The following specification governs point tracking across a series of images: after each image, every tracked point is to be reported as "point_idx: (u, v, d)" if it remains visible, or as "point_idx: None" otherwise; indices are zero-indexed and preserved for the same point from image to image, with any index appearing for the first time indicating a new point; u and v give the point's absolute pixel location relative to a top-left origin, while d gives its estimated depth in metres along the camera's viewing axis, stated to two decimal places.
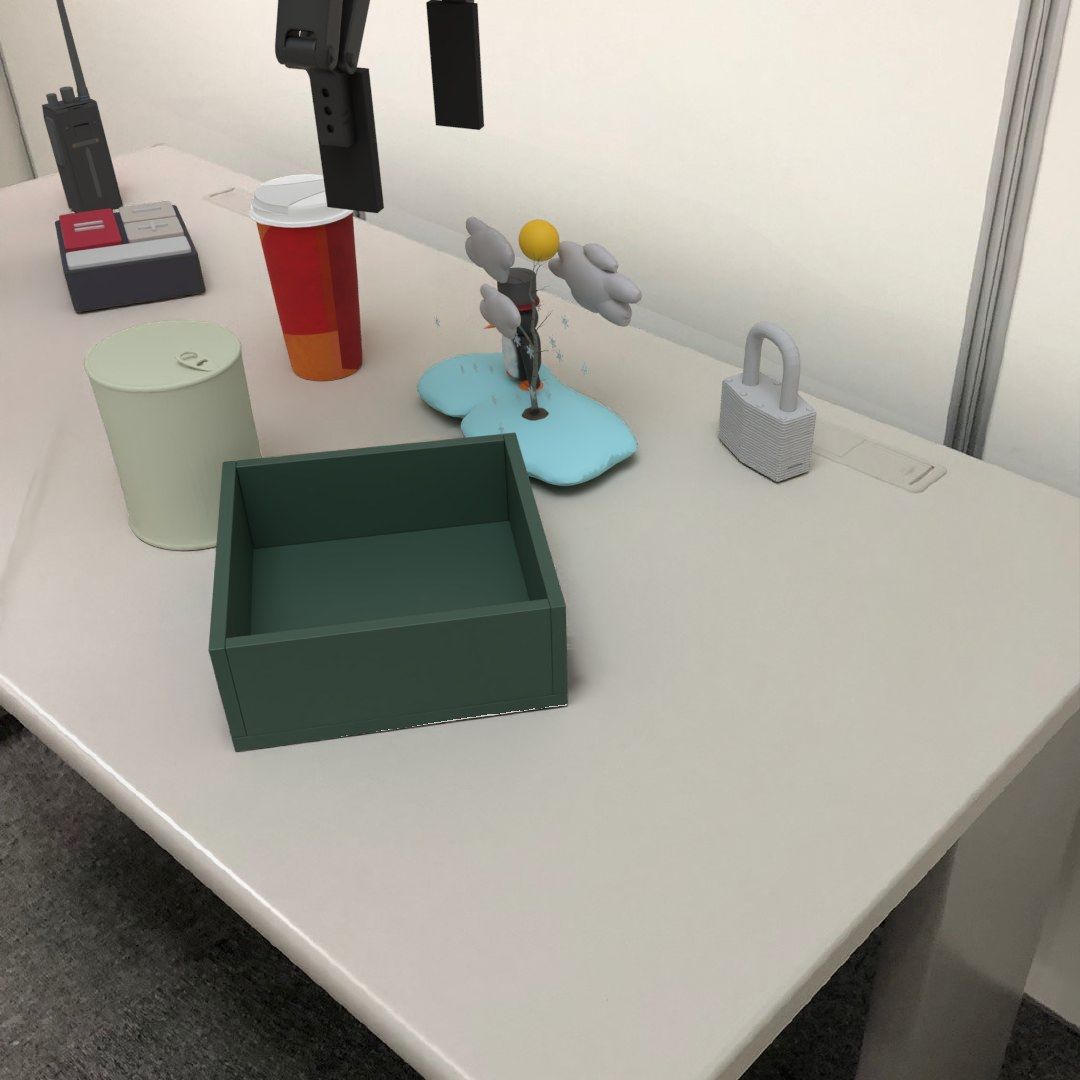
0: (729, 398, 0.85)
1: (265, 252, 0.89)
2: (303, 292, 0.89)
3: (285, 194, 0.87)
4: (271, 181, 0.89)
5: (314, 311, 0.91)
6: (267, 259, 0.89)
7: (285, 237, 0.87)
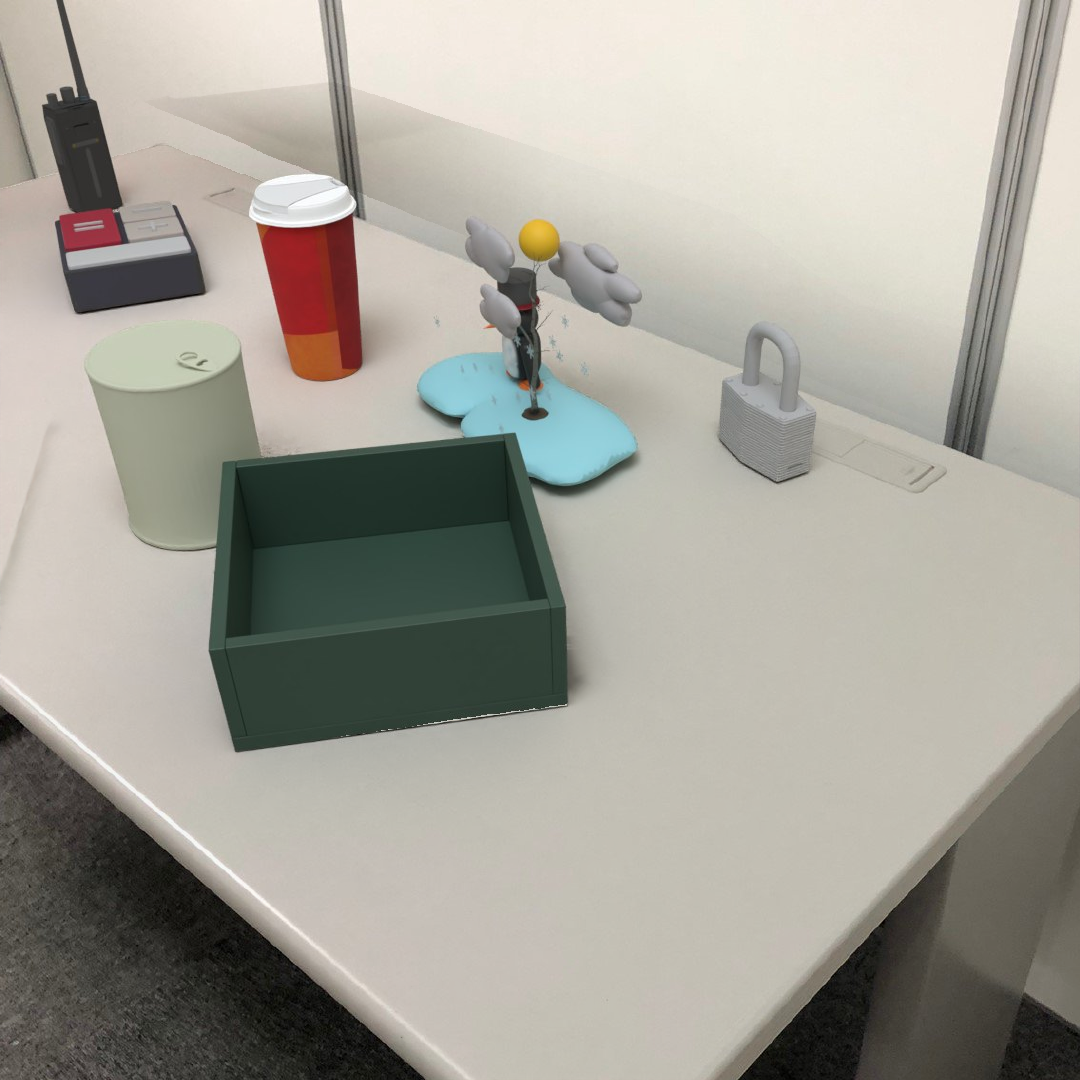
0: (729, 398, 0.85)
1: (265, 252, 0.89)
2: (303, 292, 0.89)
3: (285, 193, 0.87)
4: (271, 181, 0.89)
5: (314, 311, 0.91)
6: (267, 259, 0.89)
7: (285, 237, 0.87)
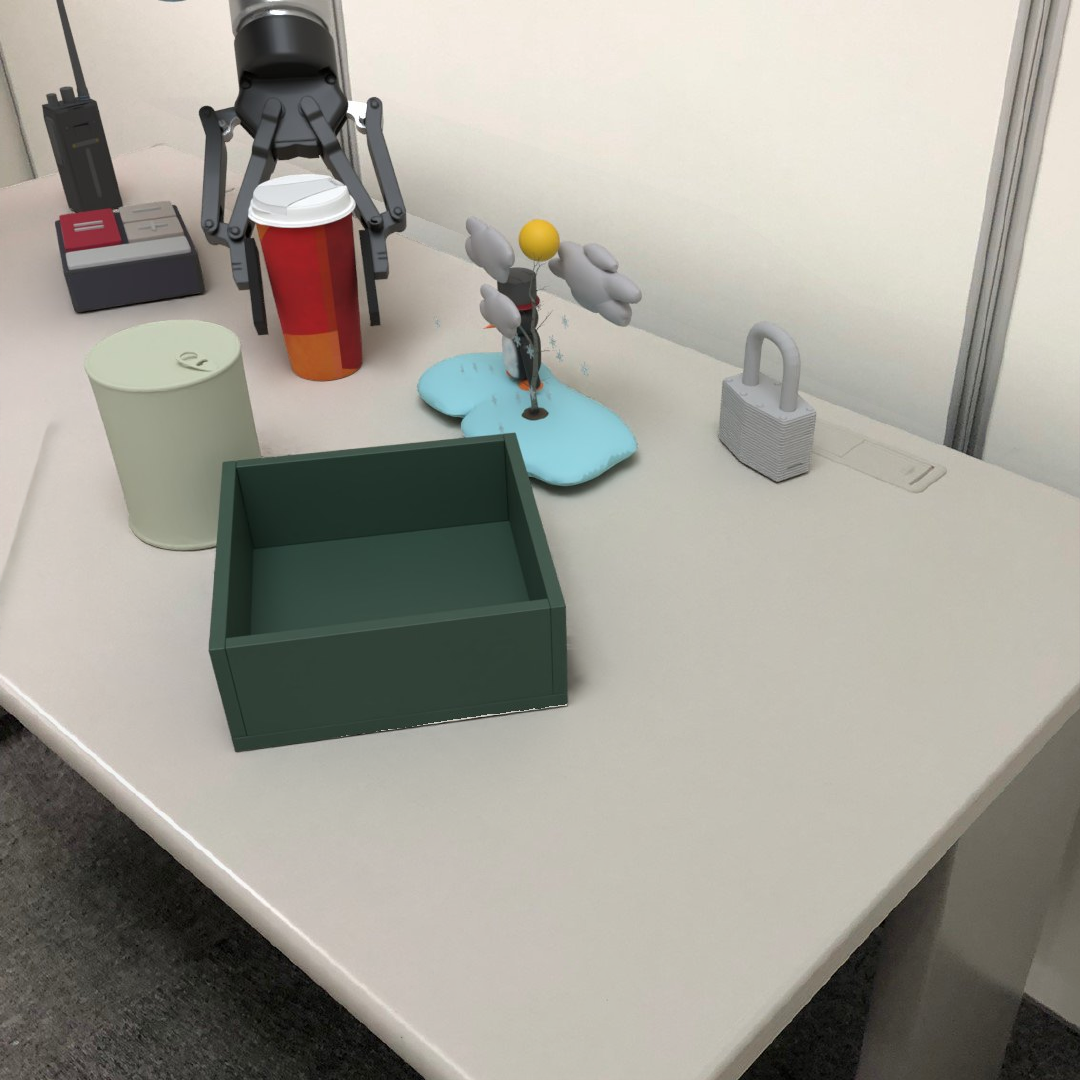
0: (729, 398, 0.85)
1: (264, 252, 0.89)
2: (303, 292, 0.89)
3: (284, 194, 0.87)
4: (270, 181, 0.89)
5: (314, 311, 0.91)
6: (266, 259, 0.89)
7: (284, 237, 0.87)
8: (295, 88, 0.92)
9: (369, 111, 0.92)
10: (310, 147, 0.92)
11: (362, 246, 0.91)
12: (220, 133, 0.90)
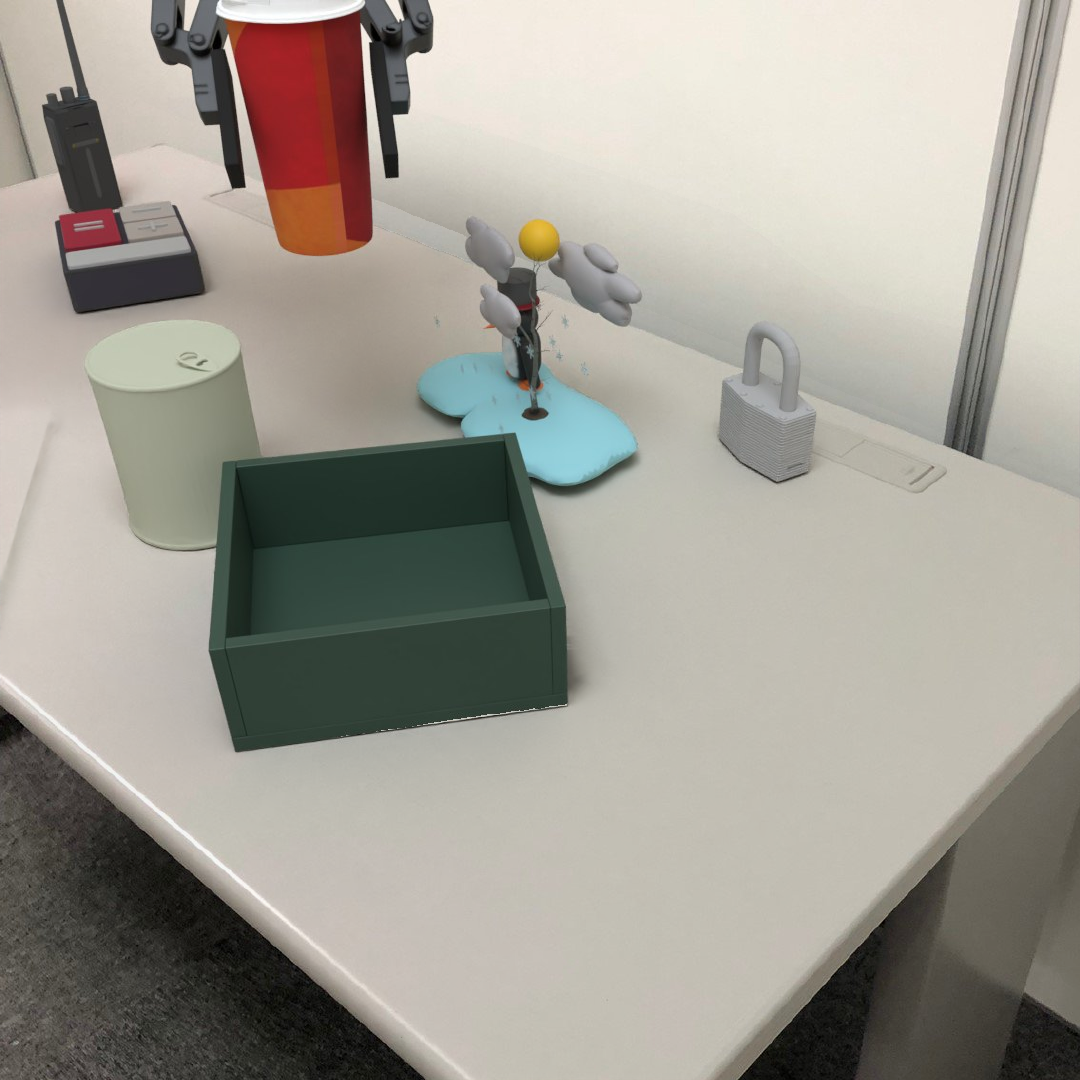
0: (729, 398, 0.85)
1: (239, 68, 0.64)
2: (293, 125, 0.65)
3: None
4: None
5: (308, 153, 0.66)
6: (242, 78, 0.64)
7: (266, 40, 0.62)
8: None
9: None
10: None
11: (374, 64, 0.66)
12: None
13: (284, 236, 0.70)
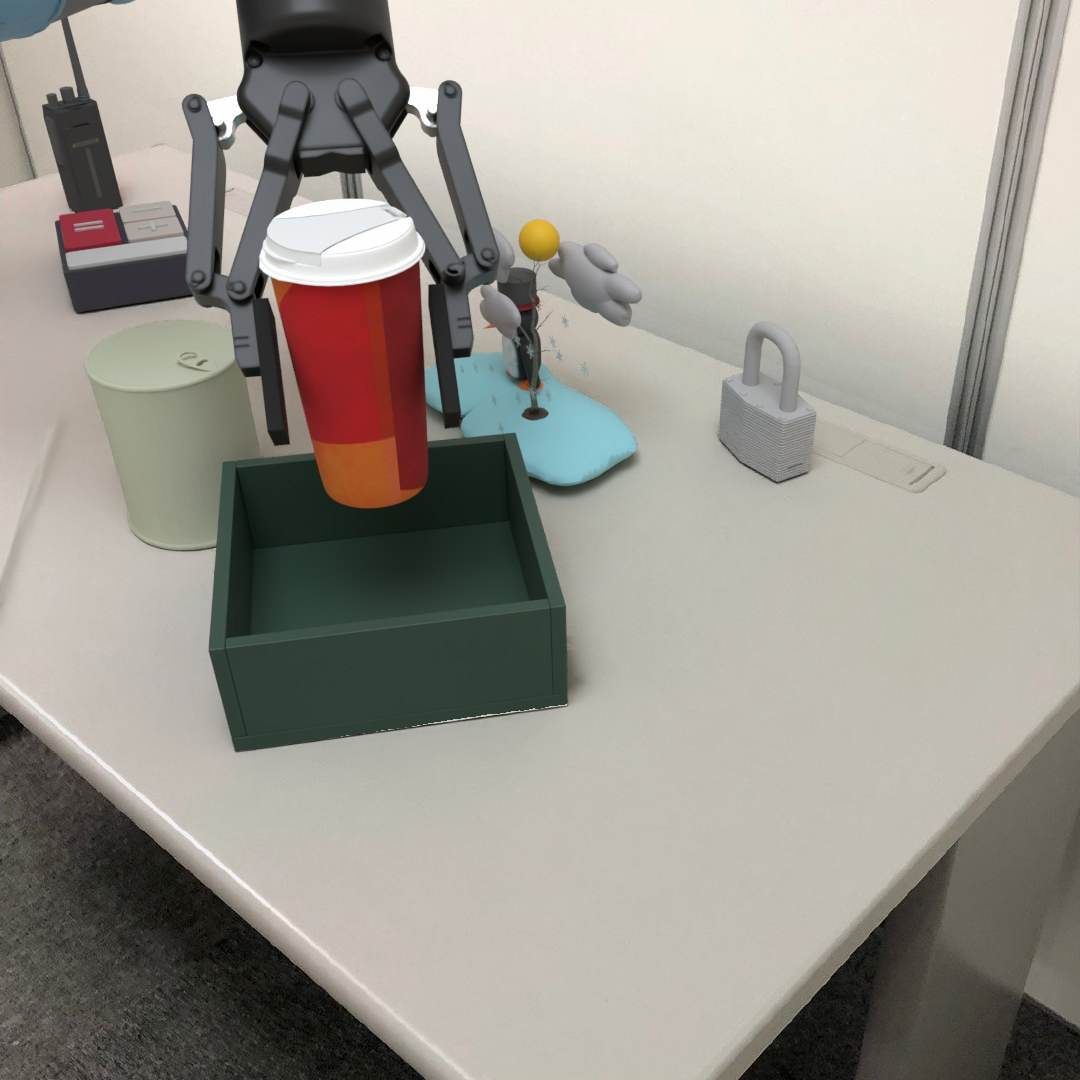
0: (729, 398, 0.85)
1: (284, 321, 0.57)
2: (344, 383, 0.58)
3: (315, 231, 0.56)
4: (293, 211, 0.58)
5: (360, 410, 0.59)
6: (288, 332, 0.57)
7: (316, 300, 0.55)
8: (330, 67, 0.60)
9: (442, 102, 0.60)
10: (353, 157, 0.60)
11: (434, 309, 0.59)
12: (215, 136, 0.59)
13: (331, 486, 0.63)
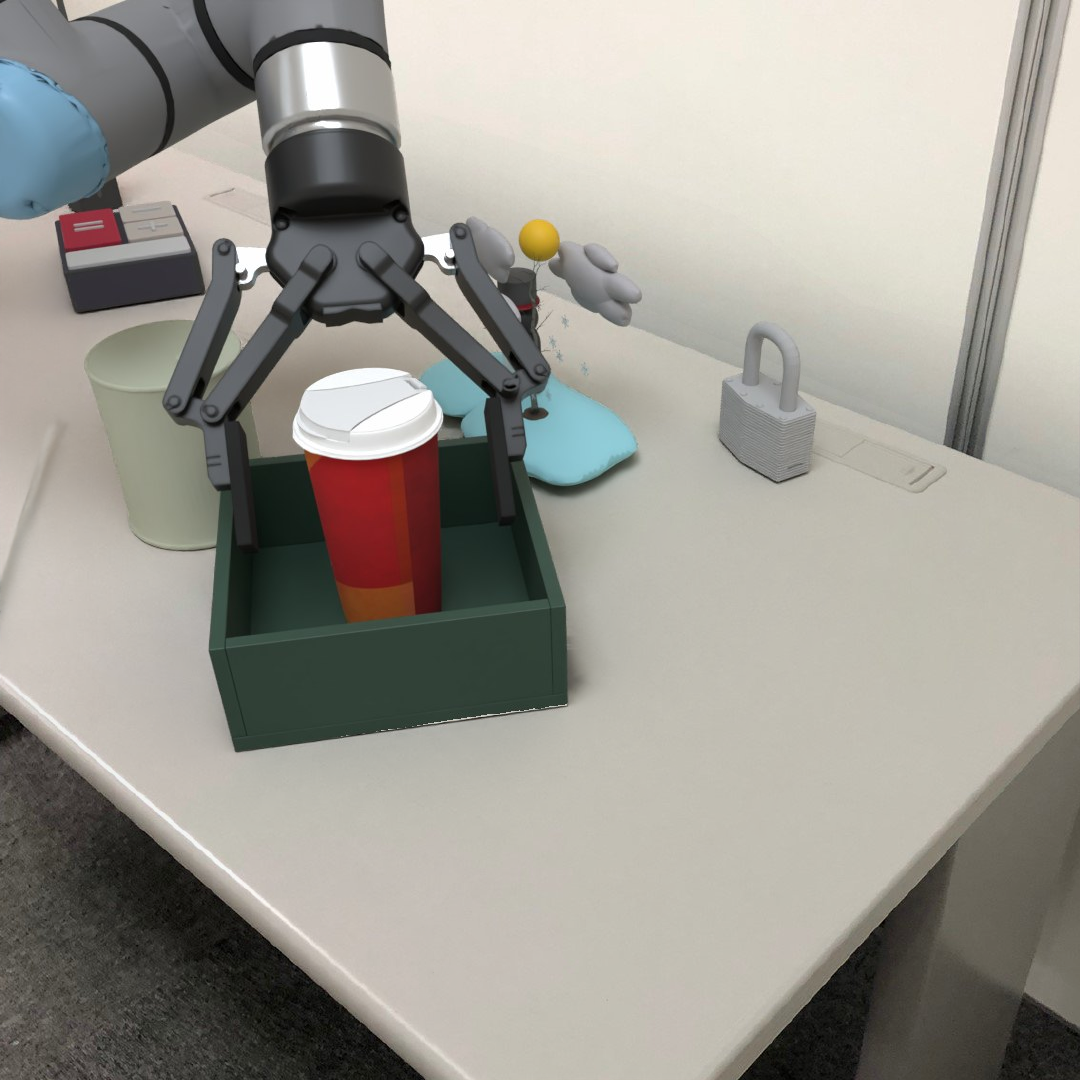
0: (729, 398, 0.85)
1: (314, 483, 0.63)
2: (367, 538, 0.63)
3: (344, 406, 0.61)
4: (323, 381, 0.63)
5: (382, 561, 0.64)
6: (317, 492, 0.63)
7: (344, 470, 0.61)
8: (351, 229, 0.65)
9: (457, 245, 0.66)
10: (372, 312, 0.65)
11: (491, 421, 0.65)
12: (233, 281, 0.64)
13: (353, 621, 0.68)
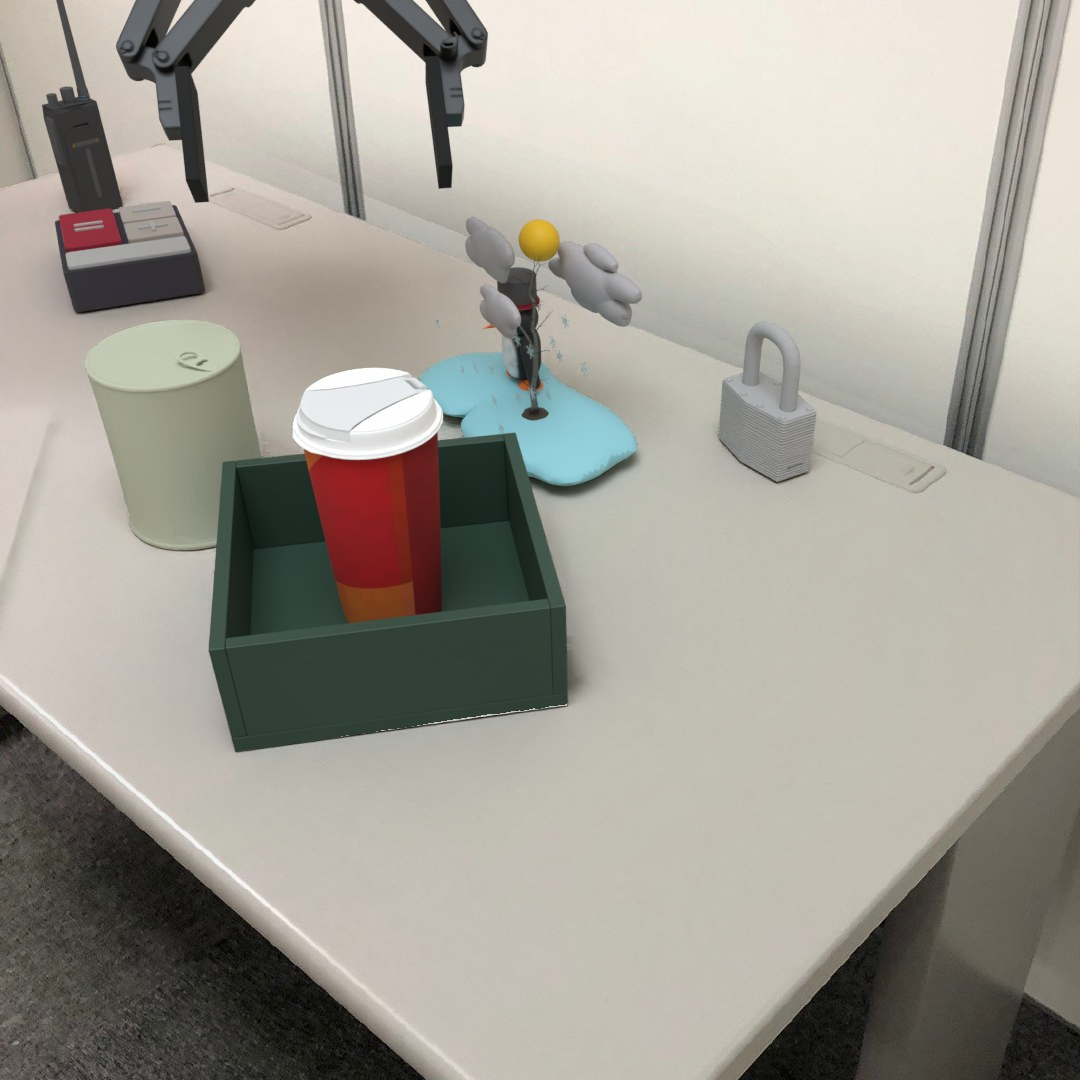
0: (729, 398, 0.85)
1: (314, 483, 0.63)
2: (367, 538, 0.63)
3: (344, 406, 0.61)
4: (323, 381, 0.63)
5: (382, 561, 0.64)
6: (317, 492, 0.63)
7: (344, 470, 0.61)
8: None
9: None
10: None
11: (430, 78, 0.68)
12: None
13: (353, 621, 0.68)
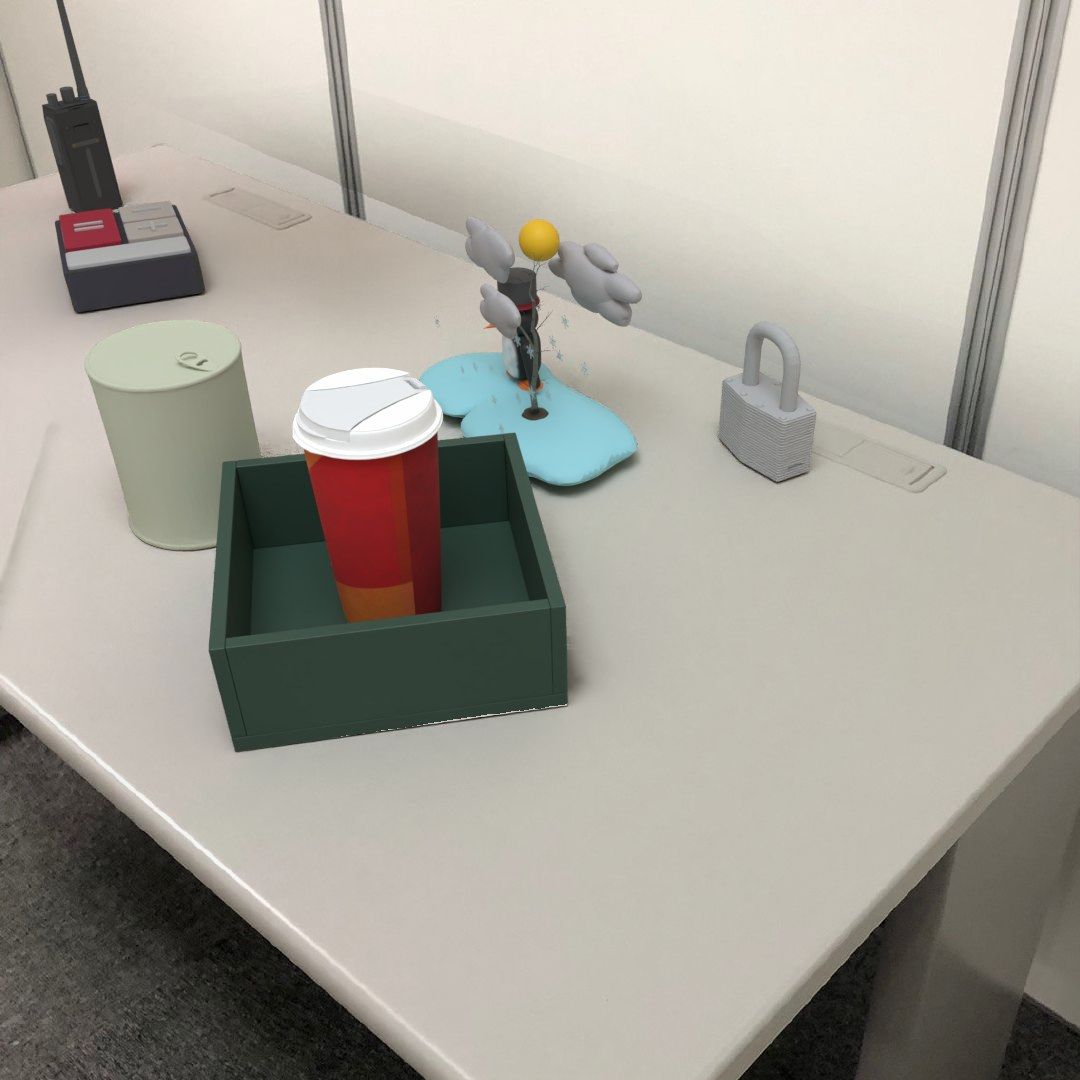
0: (729, 398, 0.85)
1: (314, 483, 0.63)
2: (367, 538, 0.63)
3: (344, 406, 0.61)
4: (323, 381, 0.63)
5: (382, 561, 0.64)
6: (317, 492, 0.63)
7: (344, 470, 0.61)
8: None
9: None
10: None
11: None
12: None
13: (353, 621, 0.68)
